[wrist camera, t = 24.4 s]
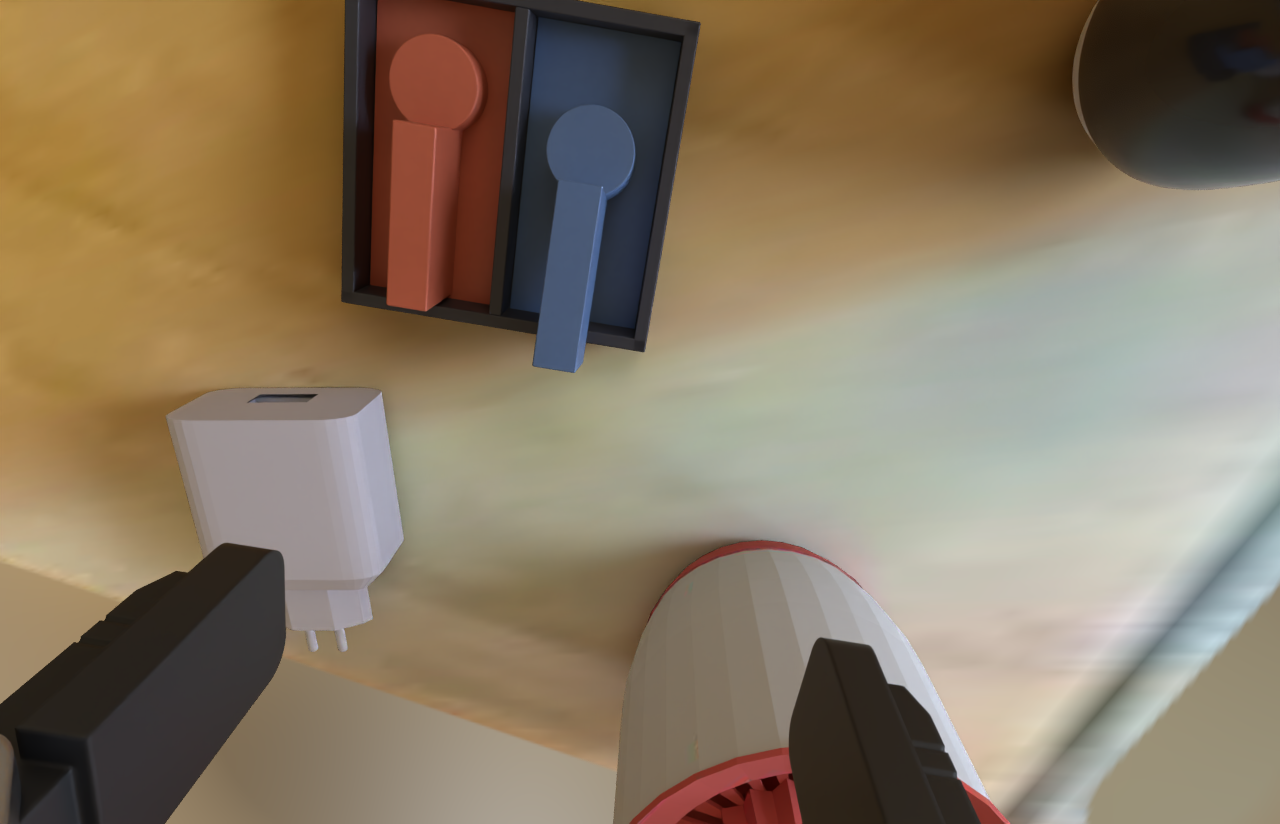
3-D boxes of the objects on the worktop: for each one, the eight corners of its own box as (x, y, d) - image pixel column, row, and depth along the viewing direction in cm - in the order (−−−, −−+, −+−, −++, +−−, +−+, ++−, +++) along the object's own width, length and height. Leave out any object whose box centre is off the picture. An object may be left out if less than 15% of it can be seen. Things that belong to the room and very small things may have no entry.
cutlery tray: (369, -28, 30) (344, -42, 28) (698, 31, 31) (701, 22, 29) (362, 291, 35) (340, 302, 33) (646, 339, 36) (644, 352, 33)
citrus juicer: (559, 670, 43) (479, 1070, 25) (724, 453, 38) (782, 754, 19) (767, 780, 46) (837, 1218, 27) (949, 592, 40) (1193, 977, 22)
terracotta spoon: (395, 284, 35) (362, 301, 31) (404, 32, 31) (368, 16, 27) (472, 297, 35) (449, 315, 31) (491, 47, 31) (467, 33, 27)
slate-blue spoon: (523, 353, 33) (508, 362, 29) (557, 107, 31) (545, 81, 28) (603, 366, 33) (598, 377, 30) (641, 122, 32) (641, 98, 28)
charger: (271, 622, 43) (215, 387, 37) (422, 623, 42) (387, 386, 37) (226, 677, 38) (154, 419, 33) (394, 679, 38) (349, 418, 33)
